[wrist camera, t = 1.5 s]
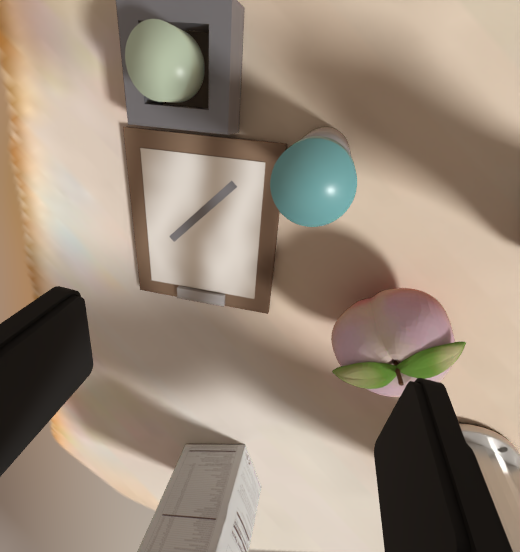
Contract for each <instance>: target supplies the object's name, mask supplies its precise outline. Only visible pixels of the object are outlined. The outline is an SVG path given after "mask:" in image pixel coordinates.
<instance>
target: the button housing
mask: <svg viewBox="0 0 520 552" xmlns="http://www.w3.org/2000/svg"><path fill="white" fill-rule="evenodd" d="M116 6H117V17H118V27H119V37H120V47H121V57H122V67H123V77H124V87H125V97H126V108H127V118H128V124H131V125H141V126H150V127H159V128H169V129H178V130H188V131H197V132H207V133H216V134H226V135H229V134H233V133H237V132H239V120H240V97H241V74H242V51H243V29H244V7H243V6H242V5H241V4H240V3H239V2H238V1H237V0H116ZM148 19H159V20H163V21H165V22H167V23H169V24H171V25H173V26H175V27H177V28H179V29H181V30H183V31H196V32H209V109H208V108H197V107H186V106H176V105H165V104H163V102H158V101H154V100H151V99H149V98H147V97H145V96H144V95H143V94H142V93H140V92H139V90H138V89H137V88H136V87H135V86H134V84H133V82H132V81H131V79H130V76H129V74H128V71H127V67H126V62H125V48H126V43H127V40H128V37H129V35H130V33H131V32H132V30H133V29H134V28H135V27H136V26H137V25H138V24H139V23H141V22H142V21H145V20H148Z"/></svg>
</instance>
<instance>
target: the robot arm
mask: <svg viewBox="0 0 520 552" xmlns="http://www.w3.org/2000/svg"><path fill="white" fill-rule="evenodd" d="M92 368H93V358H92V350H91V343H90V336H89V328H88V321H87V314H86V307H85V301H84V299H83V298H82V297H81V295H80V293H79V292H78V291H75V290H71V289H67V288H64V287H60V286H58V287H54V288H52V289H51V290H49V291H48V292H46V293H45V294H43V295H42V296H40V297H39V298H37V299H36V300H35V301H33V302H32V303H30V304H29V305H27V306H26V307H24V308H23V309H21V310H20V311H18V312H17V313H16V314H14V315H13V316H11V317H10V318H8V319H7V320H5V321H4V322H2V323H1V324H0V476H1V475H2V474H3V473H4V472H5V471H6V470H7V468H8V467H9V466H10V465H11V464H12V463H13V462H14V460H15V459H16V458H17V457H18V456H19V455H20V454H21V452H22V451H23V450H24V449H25V448H26V447H27V445H28V444H29V443H30V442H31V441H32V440H33V439H34V437H35V436H36V435H37V434H38V433H39V432H40V431H41V430H42V428H43V427H44V426H45V425H46V424H47V423H48V422H49V420H50V419H51V418H52V417H53V416H54V415H55V414H56V412H57V411H58V410H59V409H60V408H61V407H62V406H63V404H64V403H65V402H66V401H67V400H68V399H69V398H70V397H71V395H72V394H73V393H74V392H75V391H76V390H77V389H78V387H79V386H80V385H81V384H82V383H83V382H84V381H85V379H86V378H87V377H88V376H89V375H90V373H91V371H92ZM374 457H375V466H376V475H377V484H378V493H379V503H380V512H381V521H382V530H383V539H384V548H385V552H520V454H519V452H518V450H517V449H516V448H515V447H514V445H513V444H512V443H511V442H510V441H508V440H507V439H506V438H505V437H503V436H501V435H500V434H498V433H496V432H494V431H491V430H489V429H486V428H483V427H479V426H474V425H470V424H459V422H458V420H457V417H456V414H455V412H454V409H453V407H452V404H451V401H450V399H449V396H448V393H447V391H446V388H445V386H444V385H443V384H442V383H439V382H435V381H431V380H427V379H424V378H417V379H416V380H415V382H413V381H409V382H408V384H407V385H406V387H405V389H404V391H403V393H402V394H401V396H400V398H399V400H398V402H397V404H396V405H395V407H394V409H393V411H392V413H391V415H390V417H389V418H388V420H387V422H386V424H385V426H384V428H383V429H382V431H381V433H380V435H379V437H378V439H377V441H376V443H375V448H374Z"/></svg>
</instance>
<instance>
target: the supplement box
mask: <svg viewBox="0 0 520 552" xmlns="http://www.w3.org/2000/svg"><path fill="white" fill-rule="evenodd" d="M260 491H261V484H260V482H259V479H258V476H257V474H256V471H255V469H254V466H253V464H252V461H251V458H250V456H249V453H248V451H247V448H246V446H245V445H218V444H186V445H185V447H184V449H183V451H182V454H181V456H180V458H179V460H178V463H177V465H176V467H175V469H174V471H173V474H172V476H171V478H170V480H169V483H168V485H167V487H166V489H165V491H164V494H163V496H162V498H161V500H160V503H159V505H158V507H157V509H156V512H155V514H154V516H153V518H152V520H151V523H150V525H149V527H148V529H147V531H146V534H145V536H144V538H143V540H142V543H141V545H140V547H139V549H138V551H137V552H249V547H250V542H251V537H252V531H253V526H254V521H255V516H256V511H257V506H258V501H259V496H260Z"/></svg>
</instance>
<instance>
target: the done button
mask: <svg viewBox="0 0 520 552" xmlns="http://www.w3.org/2000/svg"><path fill="white" fill-rule="evenodd" d="M125 62H126V67H127V71H128V74H129V76H130V79H131V81H132V82H133V84H134V86H135V87H136V88H137V89H138V90H139V92H140V93H142V94H143V95H144V96H145V97H147V98H149V99H151V100H154V101H158V102H184V101H187V100H189V99H191V98H192V97H193V96H194V95H196V93H197V92H198V91H199V89H200V87H201V85H202V82H203V79H204V72H205V66H204V59H203V55H202V52H201V49H200V47H199V46H198V44H197V42H196V41H195V40H194V39H193V37H192V36H191V35H189V34H188V33H187V32H185V31H183V30H181V29H179V28H177V27H175V26H173V25H171V24H169V23H167V22H165V21H163V20H159V19H148V20H145V21H142V22H141V23H139V24H138V25H137V26H136V27H135V28H134V29H133V30H132V32H131V33H130V35H129V37H128V40H127V43H126V48H125Z"/></svg>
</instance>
